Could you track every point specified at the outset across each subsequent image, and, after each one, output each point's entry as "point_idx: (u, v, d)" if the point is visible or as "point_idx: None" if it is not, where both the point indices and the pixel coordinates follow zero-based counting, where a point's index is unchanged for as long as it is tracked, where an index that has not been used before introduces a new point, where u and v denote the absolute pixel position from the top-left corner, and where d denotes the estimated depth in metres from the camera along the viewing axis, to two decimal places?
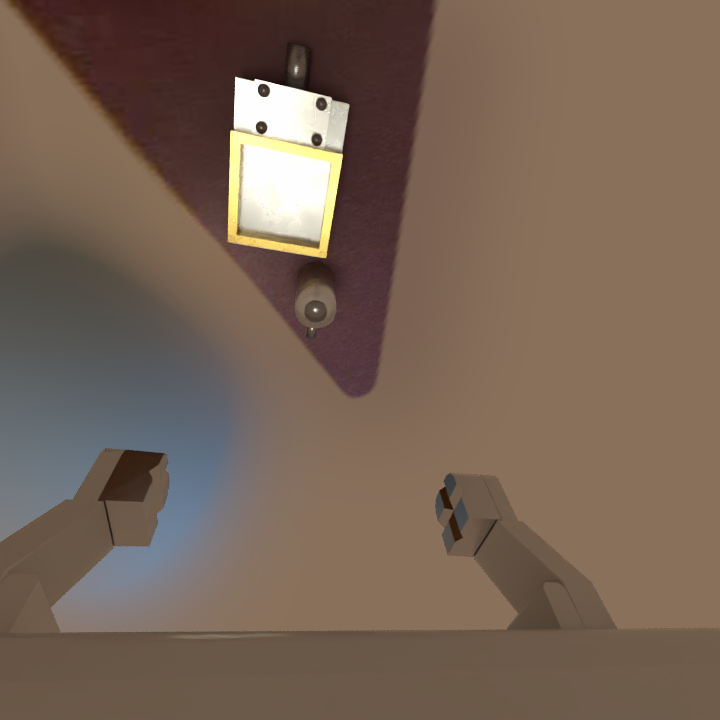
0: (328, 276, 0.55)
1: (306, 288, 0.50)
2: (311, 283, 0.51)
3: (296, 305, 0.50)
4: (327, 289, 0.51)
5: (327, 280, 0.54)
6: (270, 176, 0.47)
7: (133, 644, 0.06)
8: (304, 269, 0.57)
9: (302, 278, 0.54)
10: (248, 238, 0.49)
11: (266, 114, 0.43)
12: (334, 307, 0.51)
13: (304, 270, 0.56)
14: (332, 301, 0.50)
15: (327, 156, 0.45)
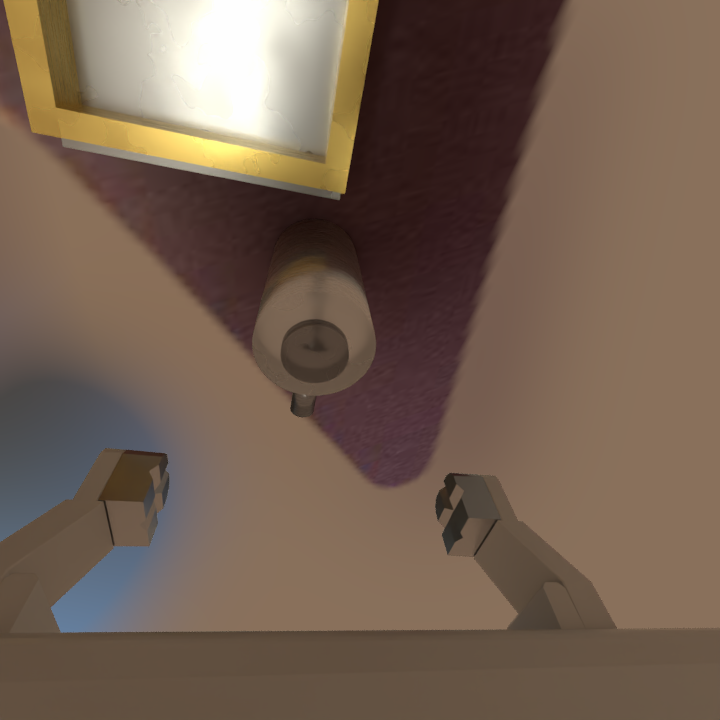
0: (348, 252, 0.21)
1: (288, 284, 0.17)
2: (304, 268, 0.18)
3: (256, 334, 0.17)
4: (349, 286, 0.17)
5: (347, 261, 0.20)
6: None
7: (133, 644, 0.06)
8: (286, 235, 0.23)
9: (280, 256, 0.20)
10: (98, 121, 0.15)
11: None
12: (370, 339, 0.17)
13: (287, 237, 0.22)
14: (365, 322, 0.17)
15: None
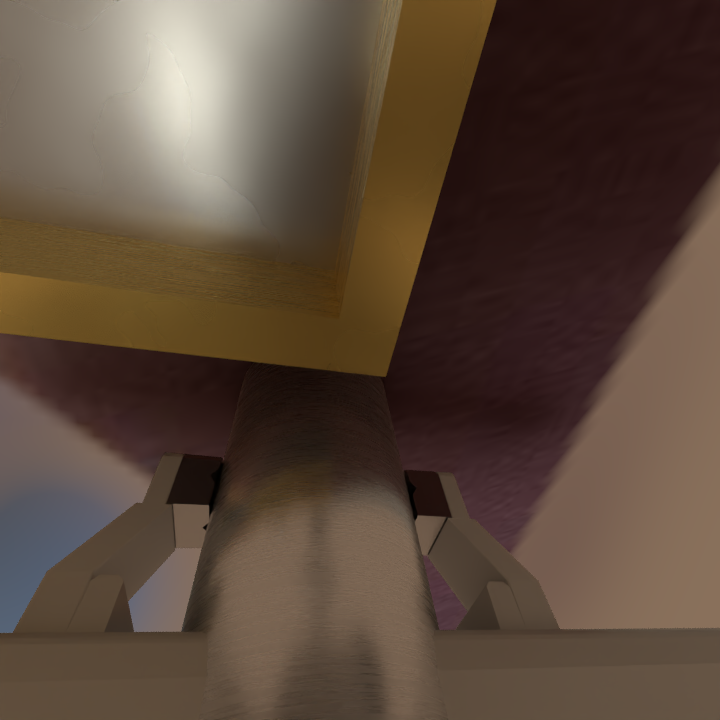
0: (377, 426, 0.11)
1: (239, 642, 0.06)
2: (285, 556, 0.07)
3: None
4: (397, 612, 0.07)
5: (379, 474, 0.10)
6: None
7: (133, 644, 0.06)
8: (261, 377, 0.12)
9: (241, 454, 0.10)
10: None
11: None
12: None
13: (261, 389, 0.12)
14: None
15: None
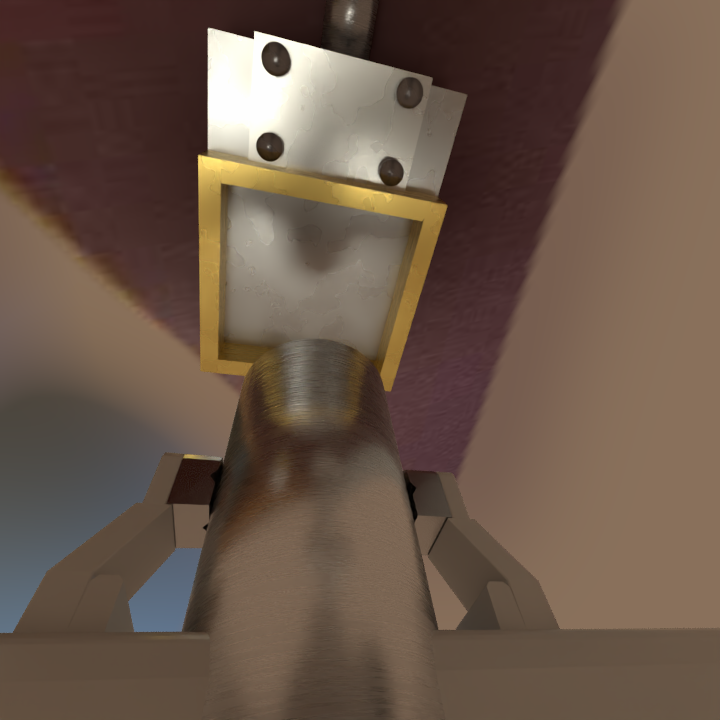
0: (377, 428, 0.11)
1: (239, 644, 0.06)
2: (284, 559, 0.07)
3: None
4: (397, 614, 0.07)
5: (379, 475, 0.10)
6: (286, 246, 0.23)
7: (133, 644, 0.06)
8: (260, 378, 0.12)
9: (241, 455, 0.10)
10: (241, 364, 0.25)
11: (280, 116, 0.19)
12: None
13: (261, 390, 0.12)
14: None
15: (414, 209, 0.20)
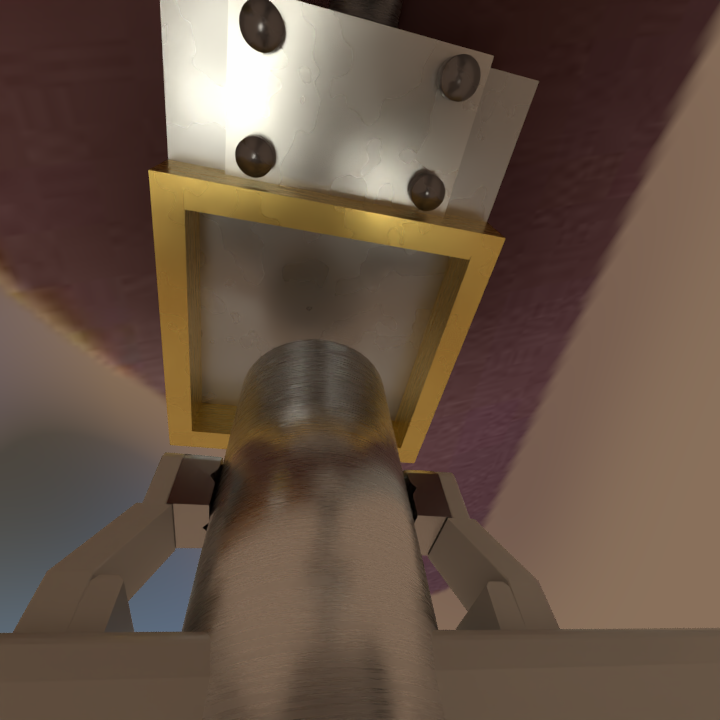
0: (377, 428, 0.11)
1: (240, 645, 0.06)
2: (284, 560, 0.07)
3: None
4: (397, 615, 0.07)
5: (379, 476, 0.10)
6: (280, 287, 0.17)
7: (133, 644, 0.06)
8: (261, 379, 0.12)
9: (241, 456, 0.10)
10: (223, 436, 0.19)
11: (270, 113, 0.13)
12: None
13: (261, 390, 0.12)
14: None
15: (459, 243, 0.15)
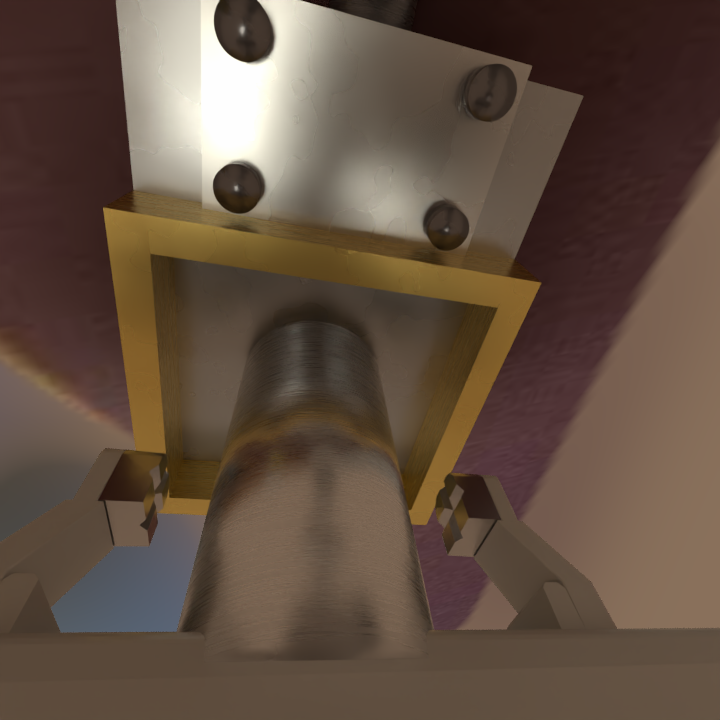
0: (370, 400, 0.12)
1: (244, 572, 0.07)
2: (284, 504, 0.08)
3: None
4: (383, 552, 0.08)
5: (370, 440, 0.10)
6: None
7: (133, 644, 0.06)
8: (262, 357, 0.13)
9: (244, 423, 0.11)
10: (206, 502, 0.16)
11: (255, 136, 0.11)
12: None
13: (263, 367, 0.13)
14: None
15: (485, 289, 0.12)
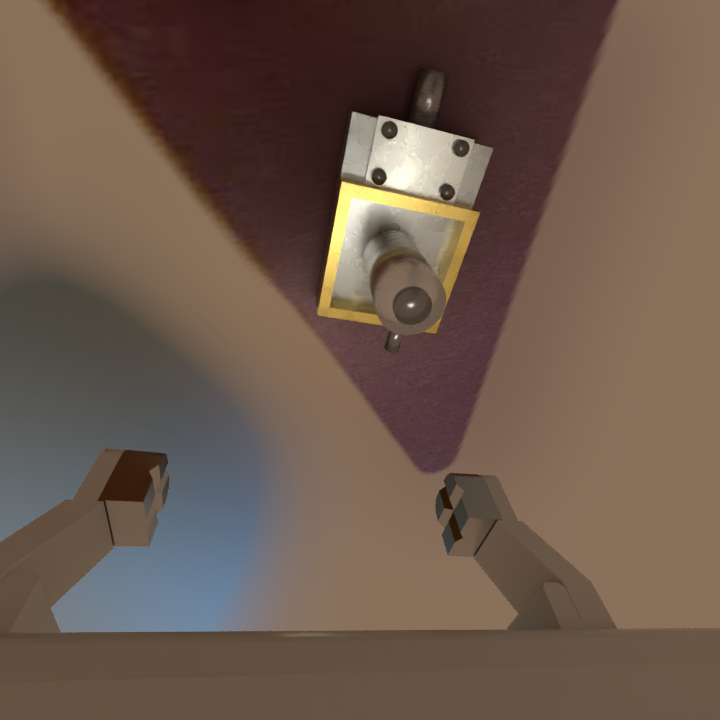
0: (419, 251, 0.34)
1: (397, 266, 0.29)
2: (403, 258, 0.30)
3: (380, 295, 0.29)
4: (430, 269, 0.30)
5: (422, 256, 0.33)
6: None
7: (133, 644, 0.06)
8: (377, 240, 0.35)
9: (380, 253, 0.33)
10: (343, 311, 0.38)
11: (386, 160, 0.33)
12: (443, 299, 0.30)
13: (379, 242, 0.35)
14: (441, 289, 0.29)
15: (460, 214, 0.34)
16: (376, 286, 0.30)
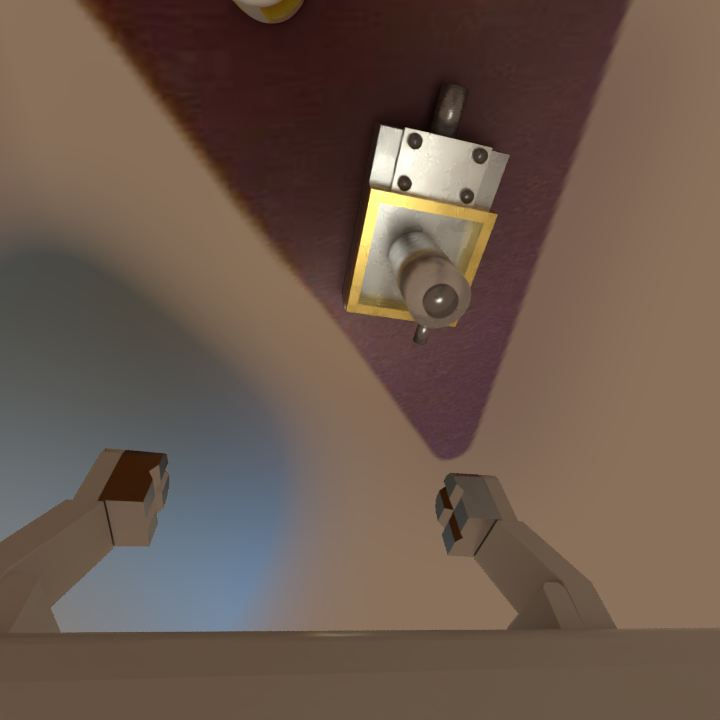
0: (442, 251, 0.37)
1: (426, 266, 0.32)
2: (430, 258, 0.33)
3: (411, 292, 0.32)
4: (455, 267, 0.33)
5: (446, 255, 0.36)
6: None
7: (133, 644, 0.06)
8: (402, 242, 0.38)
9: (407, 253, 0.36)
10: (370, 307, 0.41)
11: (411, 168, 0.36)
12: (468, 295, 0.33)
13: (405, 243, 0.38)
14: (467, 285, 0.32)
15: (479, 216, 0.37)
16: (407, 284, 0.33)
